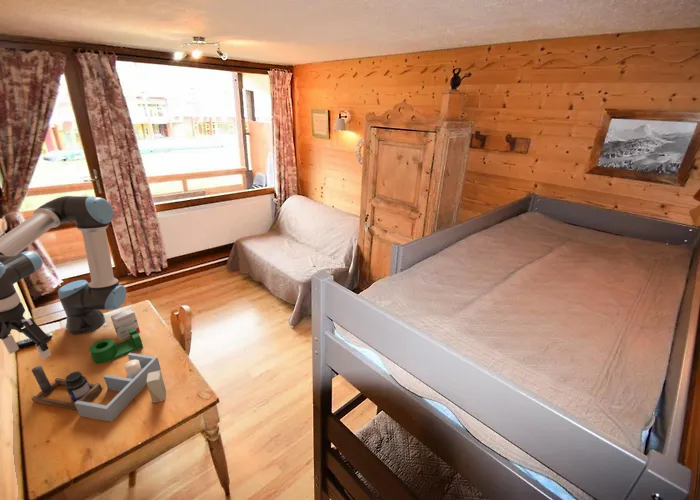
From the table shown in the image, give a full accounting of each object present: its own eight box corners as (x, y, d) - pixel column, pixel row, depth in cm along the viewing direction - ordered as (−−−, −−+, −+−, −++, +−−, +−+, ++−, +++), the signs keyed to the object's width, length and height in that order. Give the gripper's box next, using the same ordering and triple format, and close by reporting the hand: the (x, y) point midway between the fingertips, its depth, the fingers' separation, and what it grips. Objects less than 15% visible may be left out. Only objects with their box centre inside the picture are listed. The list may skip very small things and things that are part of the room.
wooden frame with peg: (56, 381, 130) (46, 358, 125) (102, 389, 127) (93, 366, 122) (31, 401, 121) (19, 378, 116) (79, 410, 118) (69, 387, 113)
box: (154, 393, 127) (147, 372, 122) (166, 390, 128) (160, 369, 124) (152, 403, 122) (146, 382, 118) (165, 400, 124) (159, 379, 119)
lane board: (133, 364, 140) (129, 352, 137) (160, 368, 138) (157, 357, 135) (80, 415, 117) (74, 403, 114) (111, 421, 115) (106, 409, 112)
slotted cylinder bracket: (95, 367, 138) (91, 355, 135) (91, 356, 143) (87, 344, 141) (143, 347, 149) (140, 336, 147) (137, 337, 155) (134, 327, 152)
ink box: (136, 327, 162) (130, 307, 157) (140, 331, 159) (134, 311, 154) (116, 335, 155) (110, 315, 150) (120, 340, 153) (113, 320, 148)
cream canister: (135, 373, 135) (131, 358, 132) (146, 375, 135) (142, 360, 131) (126, 382, 131) (121, 367, 127) (137, 384, 130) (132, 369, 127)
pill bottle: (71, 396, 124) (62, 375, 119) (91, 388, 128) (82, 367, 123) (73, 407, 120) (63, 385, 115) (93, 398, 123) (84, 377, 119)
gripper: (-40, 307, 106) (-11, 356, 116) (26, 317, 103) (50, 366, 113) (-13, 295, 113) (12, 342, 122) (49, 304, 110) (70, 351, 119)
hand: (30, 354), depth 118 cm, fingers open, 13 cm apart
